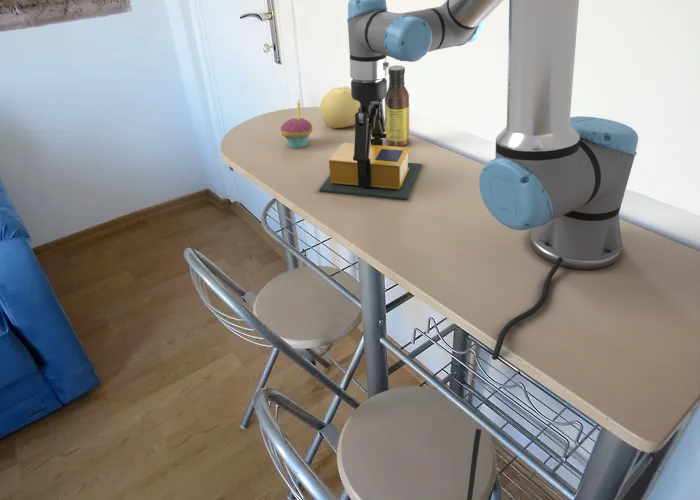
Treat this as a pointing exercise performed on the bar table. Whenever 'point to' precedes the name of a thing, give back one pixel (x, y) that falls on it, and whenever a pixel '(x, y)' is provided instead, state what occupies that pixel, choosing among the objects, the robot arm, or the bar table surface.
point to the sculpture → (339, 108)
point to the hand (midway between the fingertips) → (371, 175)
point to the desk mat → (376, 191)
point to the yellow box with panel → (371, 166)
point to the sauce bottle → (397, 108)
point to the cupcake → (296, 130)
